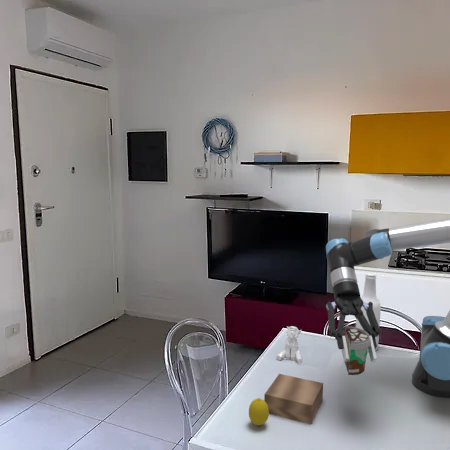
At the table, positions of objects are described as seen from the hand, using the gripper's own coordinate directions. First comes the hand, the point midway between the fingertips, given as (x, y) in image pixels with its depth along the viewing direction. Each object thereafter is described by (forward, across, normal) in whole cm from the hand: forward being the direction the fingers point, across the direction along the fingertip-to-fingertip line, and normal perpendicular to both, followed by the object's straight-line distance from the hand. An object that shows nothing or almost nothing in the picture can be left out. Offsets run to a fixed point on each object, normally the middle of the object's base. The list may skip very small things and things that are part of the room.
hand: (360, 360), depth 124 cm
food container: (+1, 0, -4) cm, 5 cm away
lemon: (+13, +27, -14) cm, 34 cm away
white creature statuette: (-17, +10, -44) cm, 48 cm away
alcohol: (-22, -22, -50) cm, 59 cm away
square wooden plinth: (+7, +15, -21) cm, 27 cm away
